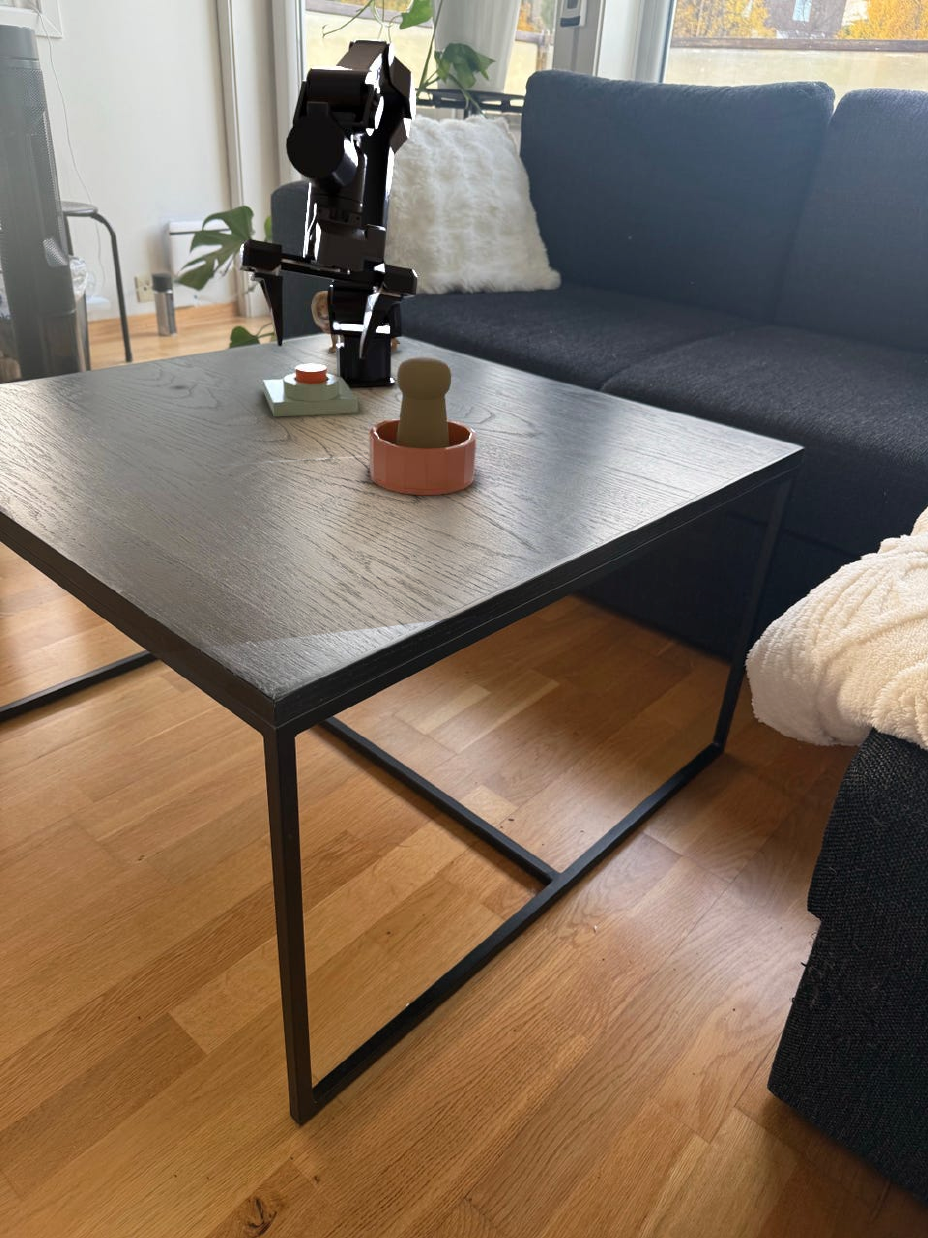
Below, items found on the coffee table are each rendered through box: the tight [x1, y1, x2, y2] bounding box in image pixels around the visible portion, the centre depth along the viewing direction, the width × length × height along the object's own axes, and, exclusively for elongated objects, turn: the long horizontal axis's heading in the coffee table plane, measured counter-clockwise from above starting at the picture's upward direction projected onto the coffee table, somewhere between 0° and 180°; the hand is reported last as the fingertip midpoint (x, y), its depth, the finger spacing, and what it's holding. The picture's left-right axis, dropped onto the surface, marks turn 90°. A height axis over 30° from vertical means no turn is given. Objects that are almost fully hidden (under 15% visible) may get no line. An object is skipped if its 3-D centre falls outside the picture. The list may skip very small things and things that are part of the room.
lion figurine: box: [310, 290, 401, 353], centre depth 132 cm, size 15×5×9 cm, turn 126°
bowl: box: [368, 417, 477, 496], centre depth 88 cm, size 10×10×4 cm
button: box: [295, 363, 327, 384], centre depth 106 cm, size 4×4×2 cm
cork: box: [396, 356, 452, 449], centre depth 87 cm, size 6×6×11 cm
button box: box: [262, 372, 359, 417], centre depth 109 cm, size 10×10×4 cm
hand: (321, 352), depth 99 cm, fingers open, 9 cm apart
